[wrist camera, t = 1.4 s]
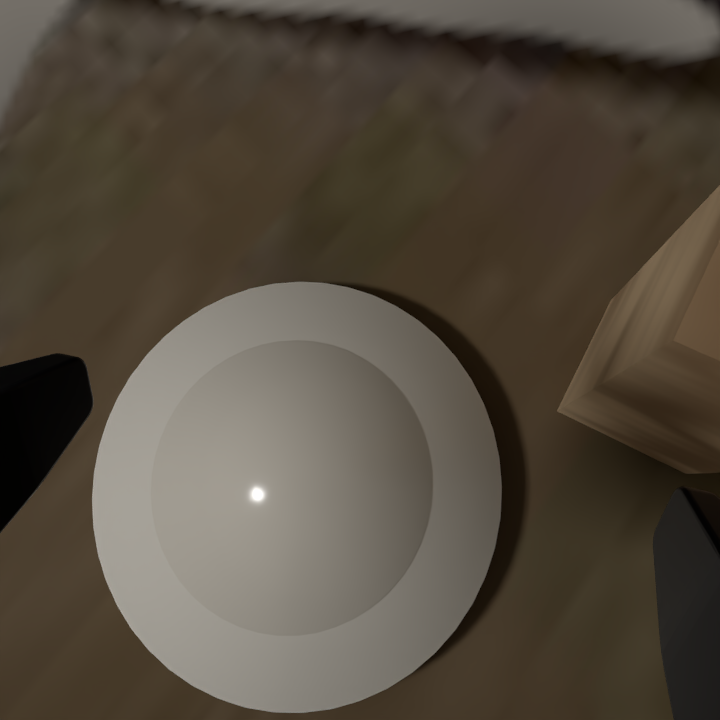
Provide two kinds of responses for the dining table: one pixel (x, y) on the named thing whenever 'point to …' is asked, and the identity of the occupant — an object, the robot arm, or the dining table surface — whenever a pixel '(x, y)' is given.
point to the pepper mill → (661, 354)
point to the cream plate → (297, 497)
